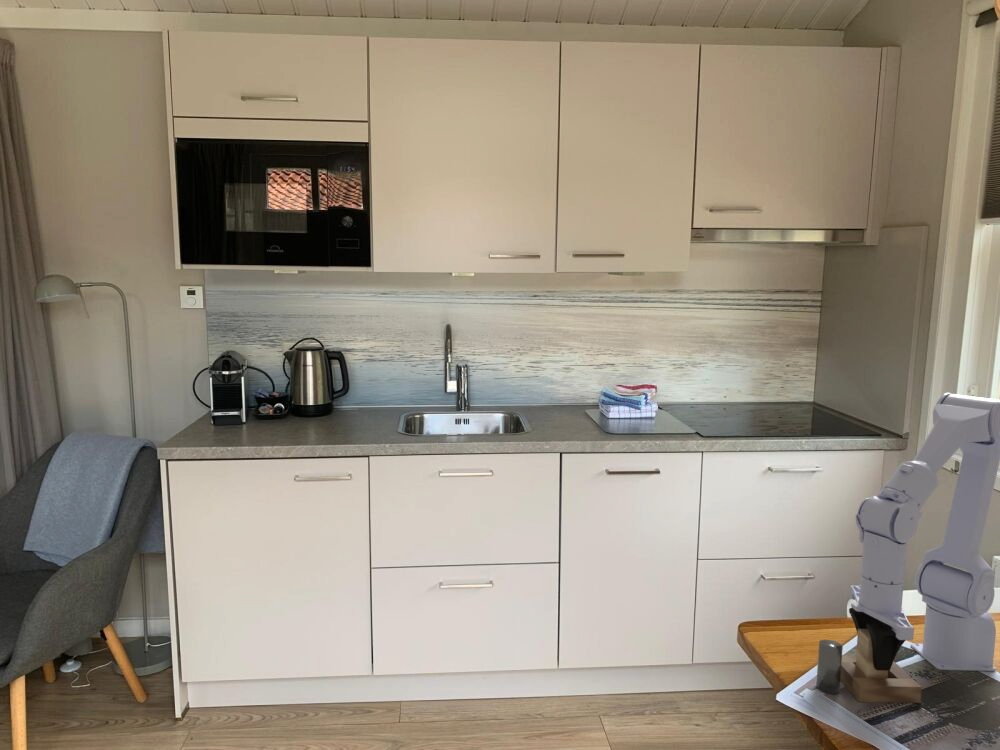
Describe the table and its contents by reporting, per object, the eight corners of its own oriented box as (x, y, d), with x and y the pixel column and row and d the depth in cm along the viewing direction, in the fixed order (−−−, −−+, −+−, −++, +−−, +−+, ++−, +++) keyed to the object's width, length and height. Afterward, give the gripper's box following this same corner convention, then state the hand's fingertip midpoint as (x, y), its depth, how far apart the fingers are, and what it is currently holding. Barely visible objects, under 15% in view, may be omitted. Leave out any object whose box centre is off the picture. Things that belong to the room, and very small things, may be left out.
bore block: (886, 670, 112) (888, 655, 111) (920, 703, 103) (921, 686, 102) (830, 669, 112) (831, 654, 111) (859, 701, 103) (860, 685, 102)
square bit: (875, 671, 109) (878, 628, 108) (887, 683, 105) (890, 638, 105) (855, 671, 109) (858, 628, 108) (865, 682, 105) (868, 638, 105)
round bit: (833, 682, 108) (836, 639, 107) (843, 694, 105) (846, 650, 104) (812, 682, 108) (815, 639, 107) (821, 694, 105) (825, 649, 104)
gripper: (833, 559, 112) (827, 639, 114) (881, 597, 98) (874, 688, 99) (876, 559, 112) (870, 640, 114) (931, 597, 98) (923, 689, 99)
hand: (875, 662), depth 107 cm, fingers closed on square bit, 3 cm apart
